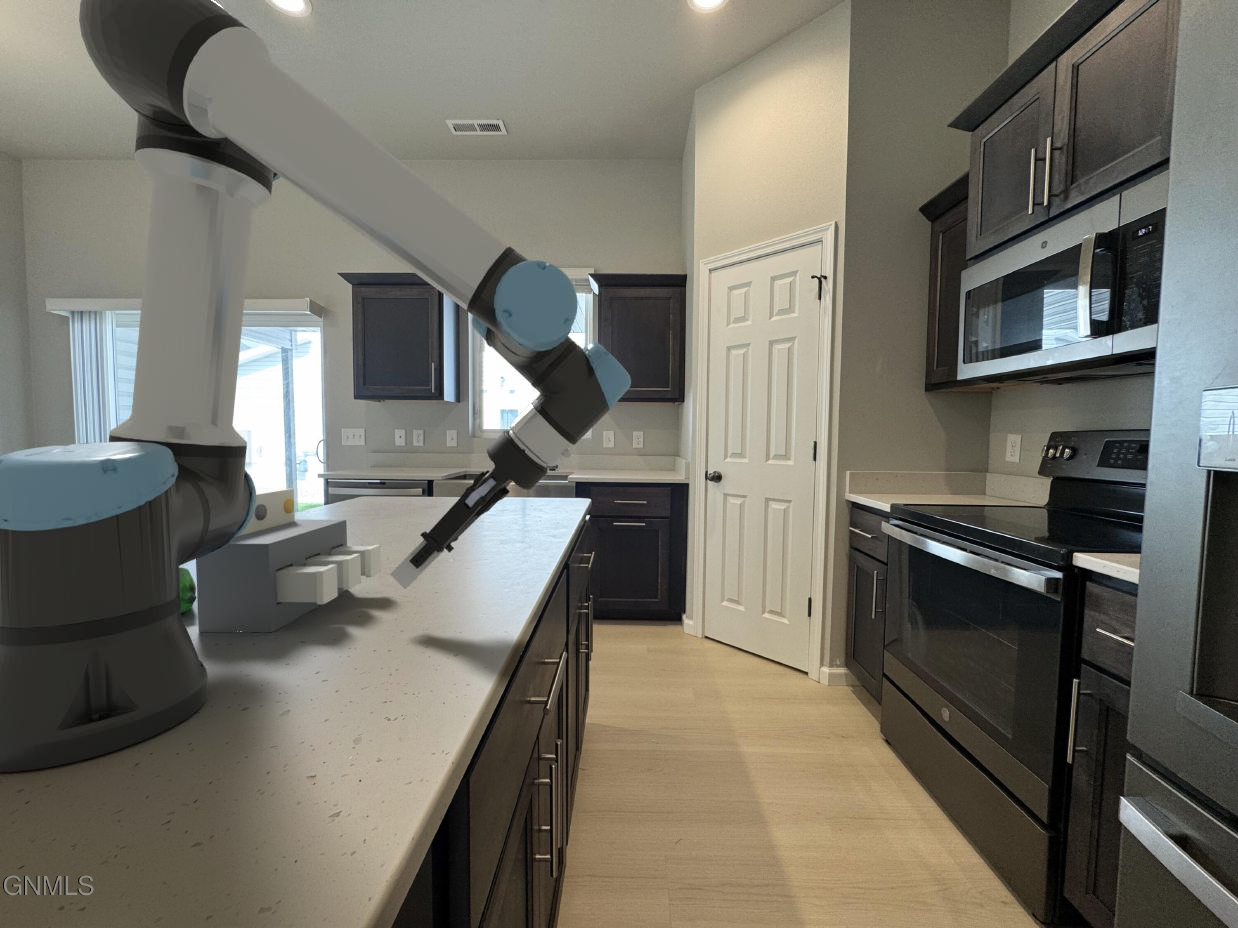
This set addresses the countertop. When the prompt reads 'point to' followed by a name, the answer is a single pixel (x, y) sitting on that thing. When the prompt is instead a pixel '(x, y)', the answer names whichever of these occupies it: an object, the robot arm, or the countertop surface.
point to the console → (260, 575)
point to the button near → (306, 584)
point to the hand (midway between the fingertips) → (399, 580)
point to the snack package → (186, 589)
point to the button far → (363, 557)
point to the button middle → (340, 568)
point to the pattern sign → (271, 510)
